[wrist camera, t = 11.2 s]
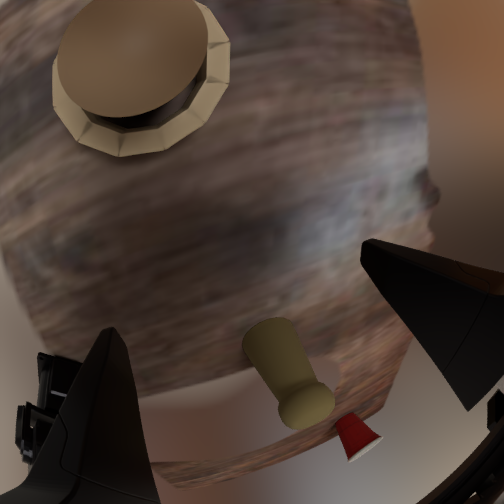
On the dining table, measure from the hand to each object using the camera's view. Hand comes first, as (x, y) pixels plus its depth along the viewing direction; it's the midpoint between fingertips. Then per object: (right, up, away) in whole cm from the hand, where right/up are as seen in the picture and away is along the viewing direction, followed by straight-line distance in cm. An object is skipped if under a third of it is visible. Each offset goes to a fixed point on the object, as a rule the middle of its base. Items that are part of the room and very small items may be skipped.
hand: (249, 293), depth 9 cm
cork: (+2, -8, +20) cm, 22 cm away
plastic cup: (+24, -42, +51) cm, 70 cm away
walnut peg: (-7, +12, +4) cm, 14 cm away
